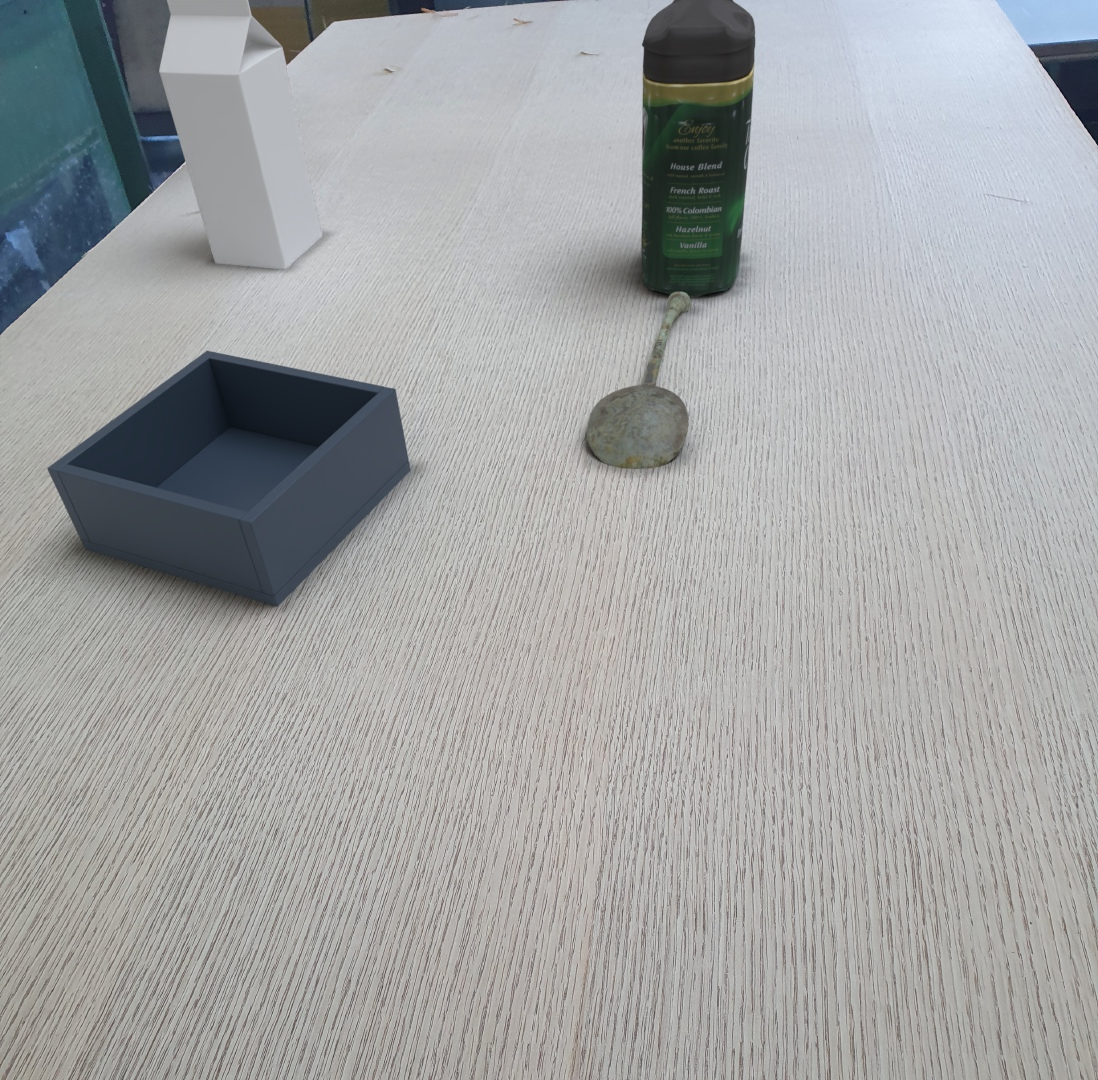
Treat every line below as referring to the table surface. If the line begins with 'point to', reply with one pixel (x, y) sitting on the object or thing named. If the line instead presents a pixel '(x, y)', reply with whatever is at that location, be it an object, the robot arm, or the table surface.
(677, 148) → the coffee jar
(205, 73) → the milk carton
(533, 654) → the table surface
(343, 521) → the bin
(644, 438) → the soupspoon
